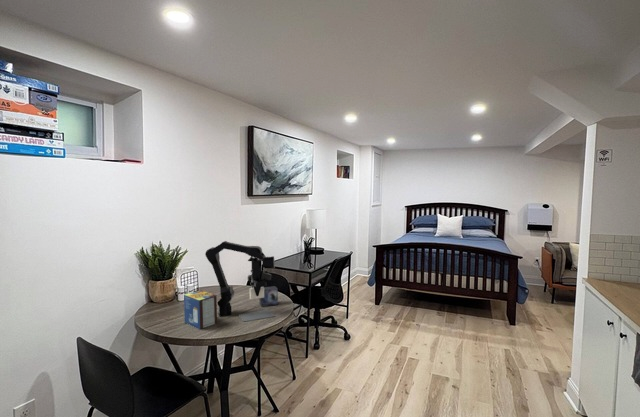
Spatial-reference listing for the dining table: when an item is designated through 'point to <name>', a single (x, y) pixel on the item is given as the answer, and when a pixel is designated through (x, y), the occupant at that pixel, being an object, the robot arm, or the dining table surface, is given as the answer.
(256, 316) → the rubber mat
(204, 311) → the protein box
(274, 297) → the small box
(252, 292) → the cream slab
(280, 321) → the dining table surface
